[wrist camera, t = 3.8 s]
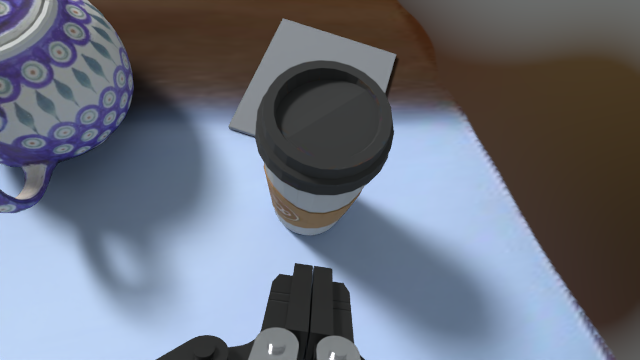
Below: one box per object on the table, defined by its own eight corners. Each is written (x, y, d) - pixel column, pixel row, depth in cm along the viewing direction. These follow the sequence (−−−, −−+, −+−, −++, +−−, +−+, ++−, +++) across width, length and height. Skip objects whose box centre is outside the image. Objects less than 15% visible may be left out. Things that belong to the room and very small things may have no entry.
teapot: (148, 226, 31) (47, 139, 17) (-55, 252, 28) (-360, 174, 15) (151, 16, 41) (88, -147, 27) (0, 21, 38) (-154, -155, 25)
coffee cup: (245, 194, 33) (222, 93, 20) (315, 149, 36) (338, 33, 22) (299, 267, 31) (315, 210, 17) (369, 213, 34) (431, 127, 20)
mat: (361, 171, 35) (362, 170, 35) (228, 128, 36) (228, 126, 35) (395, 56, 42) (396, 54, 42) (283, 21, 42) (283, 18, 42)
